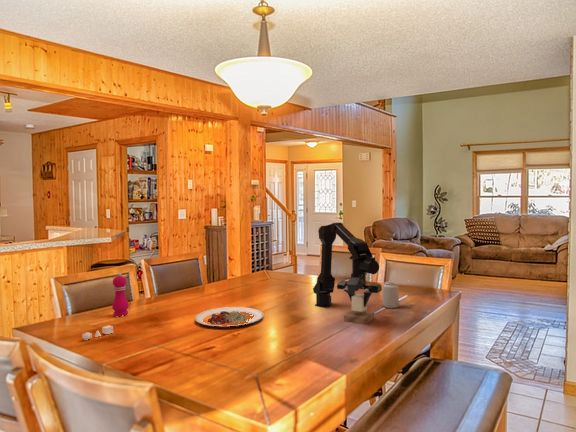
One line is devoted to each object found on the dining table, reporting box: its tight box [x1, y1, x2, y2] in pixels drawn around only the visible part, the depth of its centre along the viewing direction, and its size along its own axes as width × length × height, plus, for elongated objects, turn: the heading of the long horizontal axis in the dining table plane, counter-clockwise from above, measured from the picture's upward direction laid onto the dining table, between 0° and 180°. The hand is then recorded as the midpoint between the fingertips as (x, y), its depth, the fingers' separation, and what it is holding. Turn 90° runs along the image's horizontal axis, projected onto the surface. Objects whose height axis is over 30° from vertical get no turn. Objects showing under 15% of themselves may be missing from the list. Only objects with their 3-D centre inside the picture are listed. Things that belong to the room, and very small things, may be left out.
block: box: [351, 293, 368, 312], centre depth 196 cm, size 5×5×6 cm
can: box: [382, 280, 400, 309], centre depth 216 cm, size 8×8×12 cm
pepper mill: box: [111, 272, 130, 317], centre depth 209 cm, size 7×7×20 cm
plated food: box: [194, 306, 264, 328], centre depth 201 cm, size 30×30×3 cm
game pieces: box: [81, 324, 114, 341], centre depth 179 cm, size 12×3×3 cm, turn 144°
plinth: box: [343, 309, 375, 325], centre depth 196 cm, size 10×10×3 cm
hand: (359, 306), depth 196 cm, fingers closed on block, 5 cm apart
